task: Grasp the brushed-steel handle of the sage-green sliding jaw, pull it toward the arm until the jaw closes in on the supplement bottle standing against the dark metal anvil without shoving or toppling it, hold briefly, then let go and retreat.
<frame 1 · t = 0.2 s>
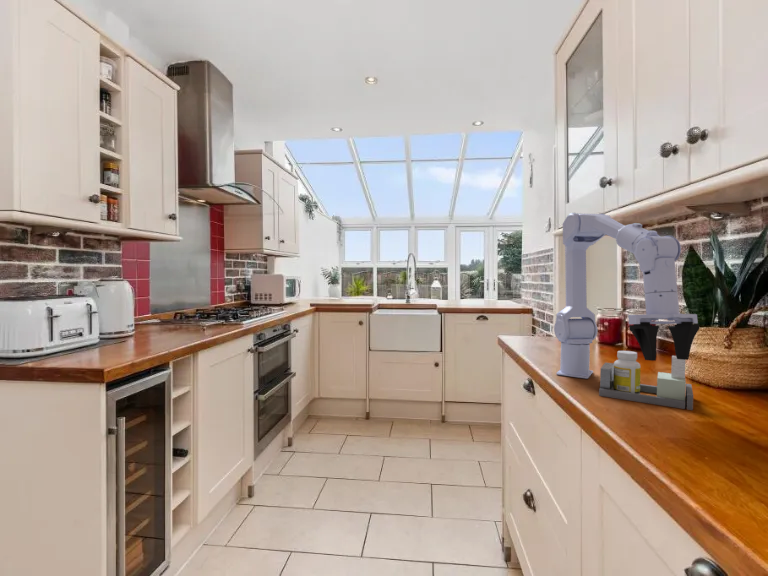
hand: (666, 359, 85), 10 cm above the table, tool pointing down, fingers open, 7 cm apart
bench: (638, 395, 96), on the table
supplement bottle: (626, 394, 97), resting in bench
jaw: (671, 377, 92), point 5 cm above the table, slide at 0.0 cm
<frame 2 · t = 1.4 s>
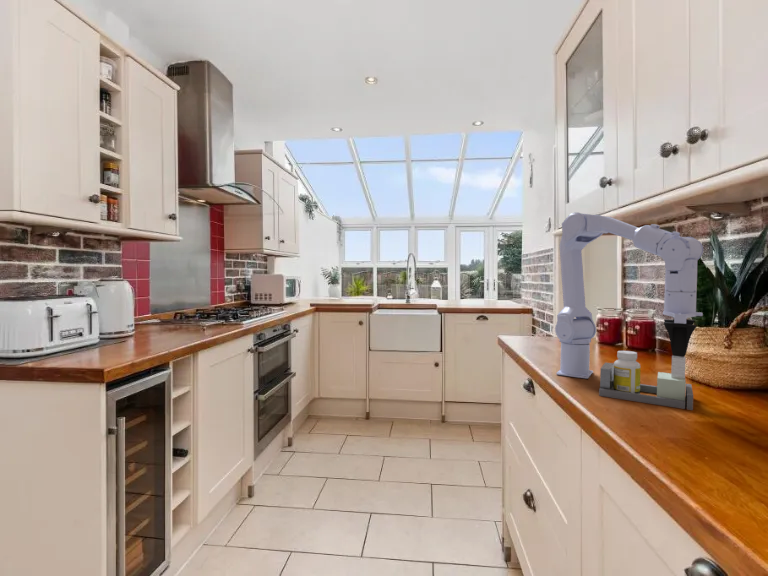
hand: (678, 353, 92), 10 cm above the table, tool pointing down, fingers open, 7 cm apart
nothing on the table moved.
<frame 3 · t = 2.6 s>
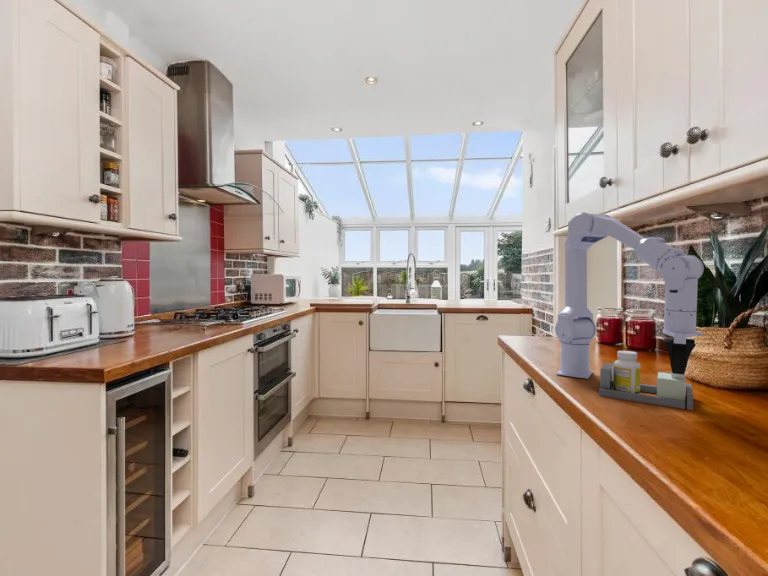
hand: (678, 372, 92), 6 cm above the table, tool pointing down, fingers closed on jaw, 2 cm apart
jaw: (671, 377, 92), point 5 cm above the table, slide at 0.0 cm, touching gripper
everything else where it was.
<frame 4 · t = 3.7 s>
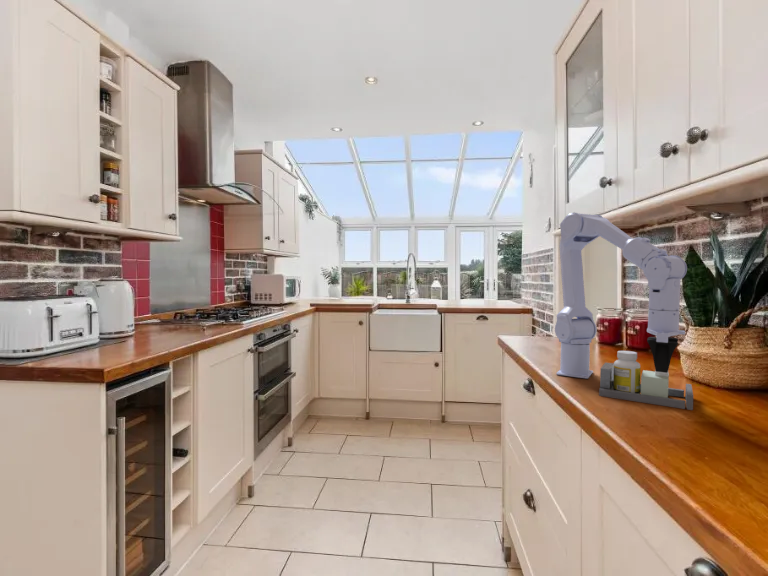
hand: (661, 370, 93), 6 cm above the table, tool pointing down, fingers closed on jaw, 2 cm apart
jaw: (655, 375, 94), point 5 cm above the table, slide at 3.0 cm, touching gripper
everything else where it was.
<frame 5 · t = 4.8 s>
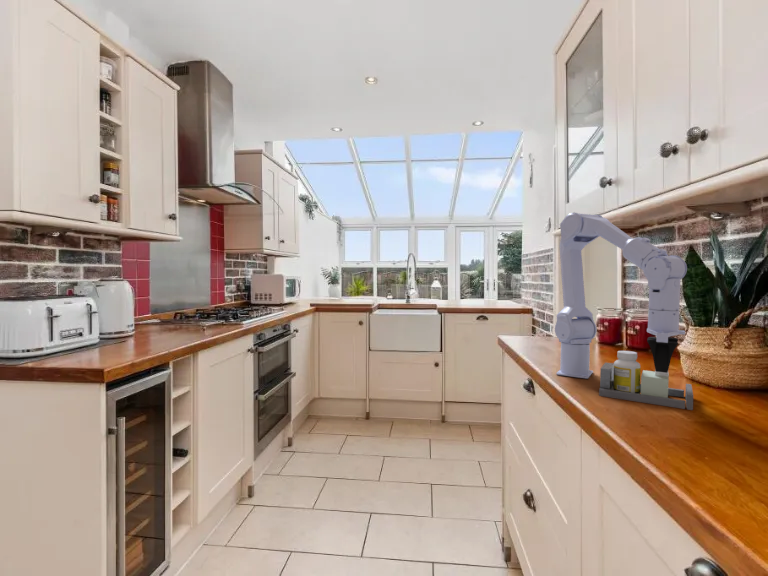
hand: (661, 370, 93), 6 cm above the table, tool pointing down, fingers closed on jaw, 2 cm apart
jaw: (655, 375, 94), point 5 cm above the table, slide at 3.0 cm, touching gripper
everything else where it was.
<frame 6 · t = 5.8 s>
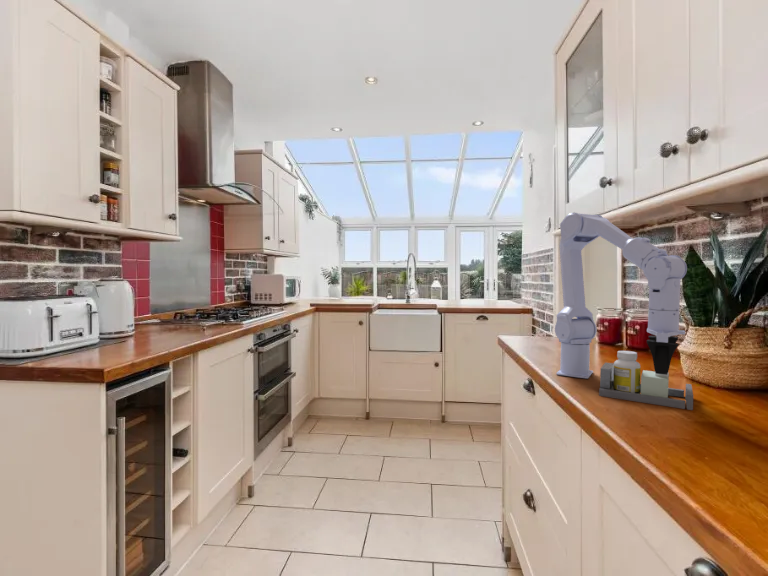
hand: (661, 370, 93), 6 cm above the table, tool pointing down, fingers open, 7 cm apart
jaw: (655, 375, 94), point 5 cm above the table, slide at 3.0 cm
everything else where it was.
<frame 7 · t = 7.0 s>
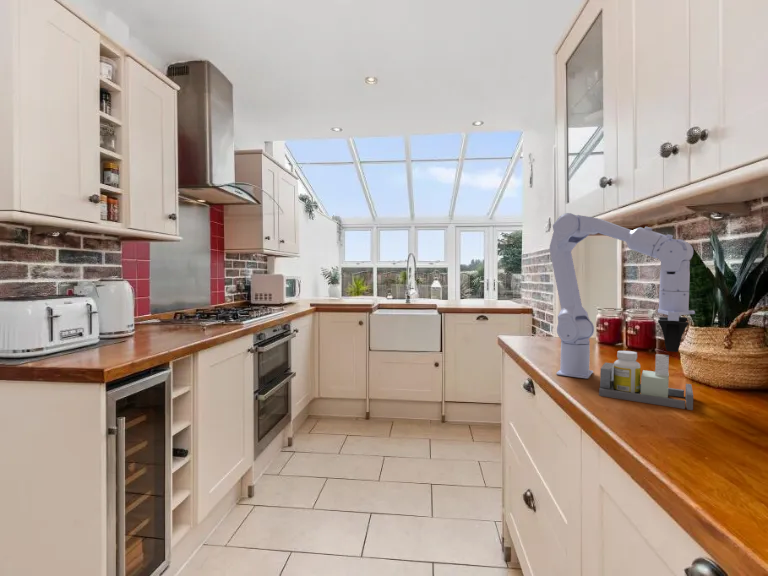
hand: (672, 349, 98), 10 cm above the table, tool pointing down, fingers open, 7 cm apart
nothing on the table moved.
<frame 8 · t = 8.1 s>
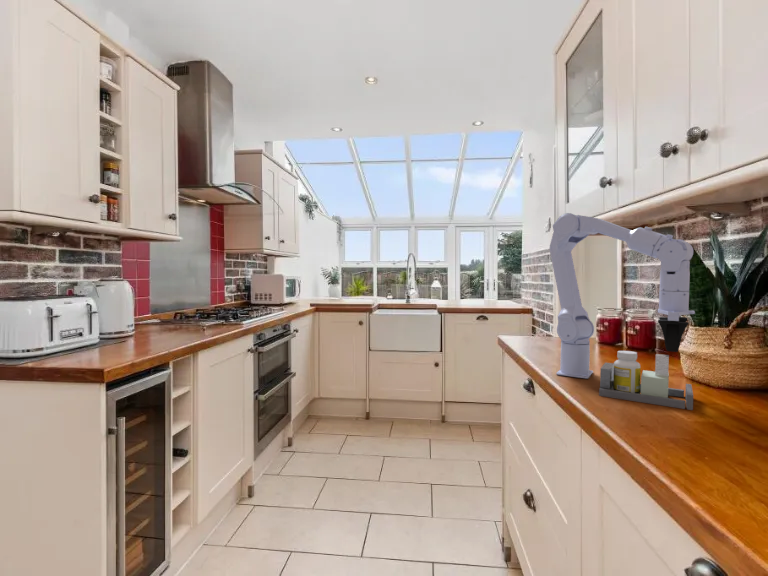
hand: (672, 349, 98), 10 cm above the table, tool pointing down, fingers open, 7 cm apart
nothing on the table moved.
at the end: jaw slide at 3.0 cm; supplement bottle tilted 0°; supplement bottle moved 0.2 cm from its start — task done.
